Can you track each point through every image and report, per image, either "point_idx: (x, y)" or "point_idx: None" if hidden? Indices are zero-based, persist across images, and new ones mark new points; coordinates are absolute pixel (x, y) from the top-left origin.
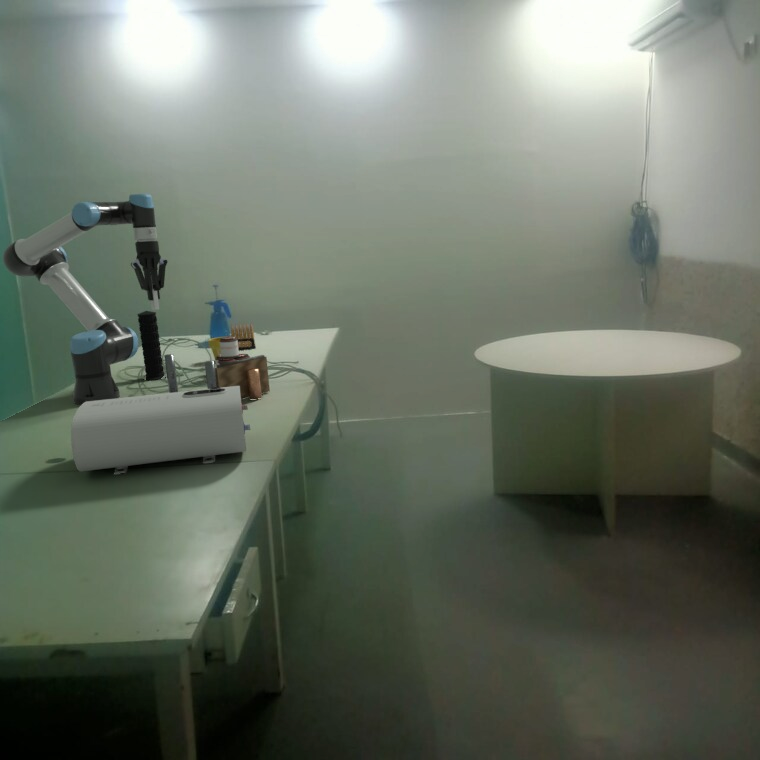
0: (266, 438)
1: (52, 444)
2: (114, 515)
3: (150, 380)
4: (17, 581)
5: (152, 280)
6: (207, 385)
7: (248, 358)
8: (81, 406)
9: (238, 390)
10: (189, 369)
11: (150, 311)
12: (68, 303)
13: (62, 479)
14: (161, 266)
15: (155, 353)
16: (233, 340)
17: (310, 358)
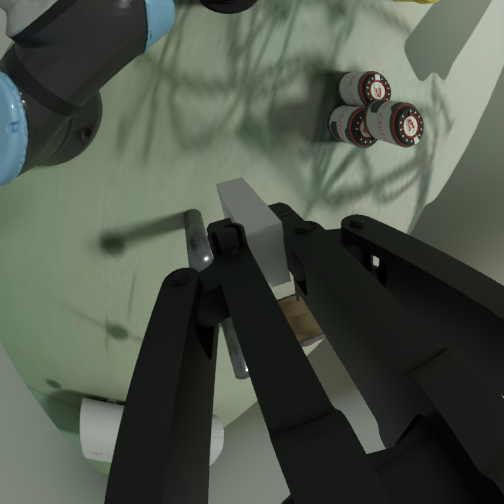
0: (226, 414)
1: (32, 344)
2: None
3: (207, 7)
4: (90, 461)
5: (325, 295)
6: (227, 345)
7: (318, 339)
8: (83, 451)
9: (211, 463)
10: None
11: None
12: None
13: (73, 413)
14: (498, 375)
15: None
16: (408, 146)
17: (467, 122)
